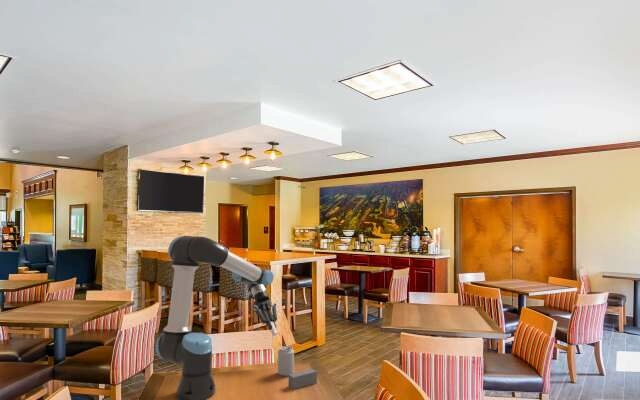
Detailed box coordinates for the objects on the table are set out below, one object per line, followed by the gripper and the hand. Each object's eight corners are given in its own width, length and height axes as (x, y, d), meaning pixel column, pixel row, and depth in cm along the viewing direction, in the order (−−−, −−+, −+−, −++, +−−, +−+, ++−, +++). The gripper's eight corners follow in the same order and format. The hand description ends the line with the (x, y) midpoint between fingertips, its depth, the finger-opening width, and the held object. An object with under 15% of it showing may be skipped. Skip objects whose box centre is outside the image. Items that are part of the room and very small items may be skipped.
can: (293, 377, 181) (293, 350, 182) (276, 376, 181) (277, 350, 182) (294, 370, 189) (294, 345, 189) (279, 370, 189) (279, 345, 190)
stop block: (293, 389, 168) (293, 377, 168) (288, 386, 171) (288, 374, 171) (316, 383, 174) (316, 371, 175) (311, 380, 178) (311, 368, 178)
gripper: (269, 297, 216) (284, 336, 201) (246, 300, 208) (260, 340, 194) (273, 289, 212) (289, 328, 197) (251, 291, 204) (265, 332, 190)
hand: (275, 334), depth 195 cm, fingers closed
